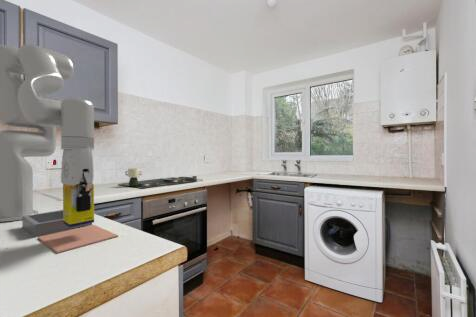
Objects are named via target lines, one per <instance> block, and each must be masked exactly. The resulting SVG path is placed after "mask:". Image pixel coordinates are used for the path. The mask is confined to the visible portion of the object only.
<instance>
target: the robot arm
mask: <svg viewBox="0 0 476 317" xmlns="http://www.w3.org/2000/svg"><path fill="white" fill-rule="evenodd" d="M72 61H73V60H71V59H70V57H68V55H65V54H63V53H61V52H57V51H54V50H52V49H48V48H46V47H43V46H40V45H35V44H24V45H21V46H20V47H19V48H18V47H15V46H11V45H6V44H0V123H1V124H3V125H4V126H8V127H17V128H28V129H36V130H37V131H27V130H14V129H12V130H11V129H5V130H0V223H5V222H14V221H15V222H16V221H21V220H22V216H27V215H33V214H39V211H38V210H36V209H35V210H34V192H33V191H34V190H33V189H34V188H33V186H34V184H33V183H34V182H33V181H34V180H33V179H34V178H33V177H34V176H33V175H34V173H33V172H34V170H33V167H32V165H31V164H30V163H29V162H28V161H27V160H26V159H25V158H28V157H29V158H30V157H31V158H35V157H36V158H37V157H41V158H43V157H44V158H45V157H50V156H52V155H53V154H54V153H55V151H56V146H57V138H56V137H57V136H56V134H57V130H56V128H60V130H61V131H60V144H61V145H60V149H61V150H63V152H62V157H61V158H62V159H61V170H60V171H61V173H60V182H61V184H62V185H63V184H64V185H69V186H72V187H74V186H77V193H78V197H76V211H77V212H81V211H87V210H90V209H91V201H90V196H91V187H92V185H93V184H94V172H95V171H94V159H93V158H94V157H93V151H94V150H95V108H94V107H95V106H94V103H93V102H91V101H89V100H86V99H82V98H78V97H77V98H76V97H75V98H74V97H70V98H68V97H67V98H64V99H62V100H57V99H52V98H44V97H40V96H46V95H52V94H56V93H57V92H60V91H61V90H62V89H63V87H64V84H65V82H64V81H67V80H69V79H71V78H72V76H73V75H74V73H75V72H74V71H75V68H74V63H73V62H72ZM20 75H21V76H25V77H26V79H25V80H24V79H23V77H21V76H20ZM83 183H85V184H83ZM79 184H81V185H79ZM81 188H82V190H81Z"/></svg>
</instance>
